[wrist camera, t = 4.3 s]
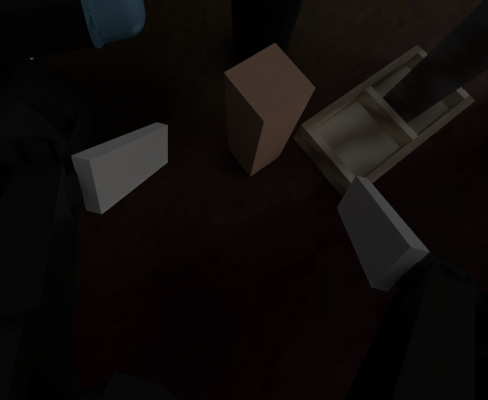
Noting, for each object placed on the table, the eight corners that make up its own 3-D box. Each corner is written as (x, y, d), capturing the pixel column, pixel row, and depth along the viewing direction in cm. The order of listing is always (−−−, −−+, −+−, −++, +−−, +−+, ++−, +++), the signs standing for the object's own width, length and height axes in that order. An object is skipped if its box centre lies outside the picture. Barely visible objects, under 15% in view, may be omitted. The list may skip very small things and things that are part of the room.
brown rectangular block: (228, 149, 28) (223, 72, 15) (257, 130, 29) (275, 42, 16) (250, 176, 27) (264, 121, 14) (278, 157, 28) (315, 87, 15)
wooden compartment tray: (293, 138, 29) (350, 38, 14) (398, 65, 32) (528, -74, 18) (343, 198, 27) (463, 154, 13) (448, 116, 31) (633, 8, 16)
